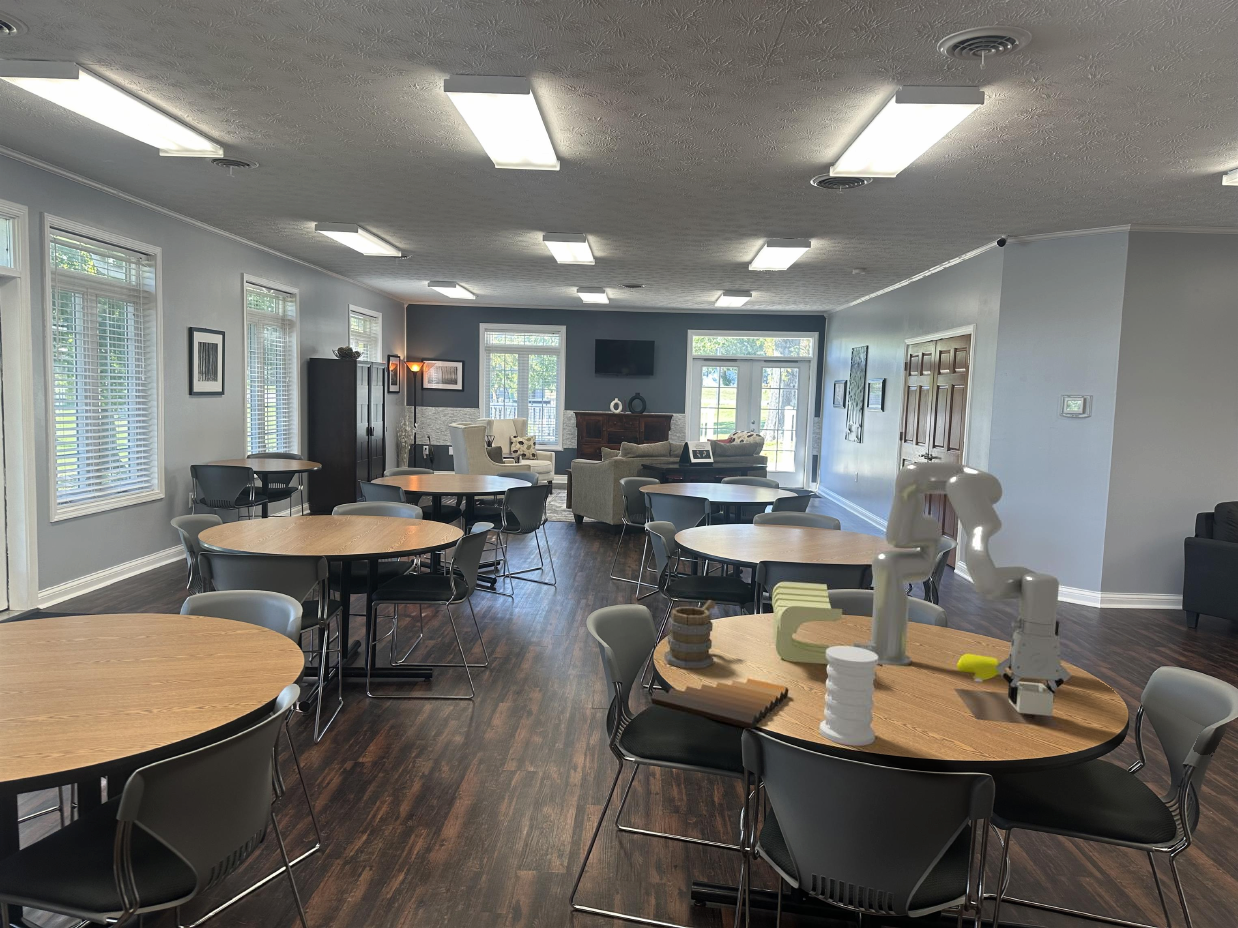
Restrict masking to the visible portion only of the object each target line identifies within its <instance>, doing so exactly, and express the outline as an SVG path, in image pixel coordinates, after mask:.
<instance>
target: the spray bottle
mask: <svg viewBox="0 0 1238 928" xmlns="http://www.w3.org/2000/svg"><path fill="white" fill-rule="evenodd" d="M957 661H958V662H957V664H956V665H957V667H956V668H957V670H958V671H959V672H962V673H963V672H966V673H974V674H973V676H972V678H973V681H974V682H975V681H976V682H981V683H982V682H984V681H986V680H989V679H991V678H993V677H996V676H997V675H998V676H999V675H1001V674H1000V673H999V672H998V670H997V669H996V666H997V665H998V664H1000V661H999V660H997V658H996V657H991V656H990V657H989V656H985V655H978V654H973V653H965V654H963V655H962V656H961V657H960V659H959V660H957Z"/></svg>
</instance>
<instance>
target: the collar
mask: <svg viewBox="0 0 1238 928" xmlns="http://www.w3.org/2000/svg"><path fill="white" fill-rule="evenodd" d="M1045 686H1046V685H1044V684H1043V683H1042V682H1041V683H1038V682H1029V681H1019V682H1018V683H1017V687H1018V692H1017V704H1013V703H1012V702H1011V700H1010V699H1009V702H1010V703H1011V704H1012V705H1013V707H1014V708H1015V709H1016V710H1017V711H1018V712H1019V713H1028V714H1038V715H1048V716H1051V717H1052V716H1053V706H1054V703H1053V698H1054V699H1055V693H1054V694H1053V693H1052V692H1051V691H1050V690H1049V689H1048V688H1046V687H1045ZM1026 689H1031V690H1035V691H1031V690H1026Z"/></svg>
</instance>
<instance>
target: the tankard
mask: <svg viewBox="0 0 1238 928" xmlns="http://www.w3.org/2000/svg"><path fill="white" fill-rule="evenodd" d="M716 604H717V603H716V602H714V601H713V600H711V599H708V601H707V602H706V603H705V604H704V605H703V606H702V607H697V606H695V607H694V606H679V607H675V608H673V609H671V613H670V617H669V618H668V627H669V629H670V631H669V632H670V633H669V634H668V635H667V644H668V646H669V650H668V651H665V652H664V659H665V661H666V662H667V665H670V666H673V667H676V668H681V669H684V670H685V669H686V670H688V669H692V670H693V669H694V670H695V669H697V670H698V669H699V670H701V669H705V668H708V667H709V666H711V665H713V664H714V660H715V659H714V657H713V656H712V655H711V654H710V650H711V649H712V642H713V641H712V639H711V632H713V622H712V620H711V616H712V615H711V613H710V610H711V609H713V610H714V609H715V607H716Z"/></svg>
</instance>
